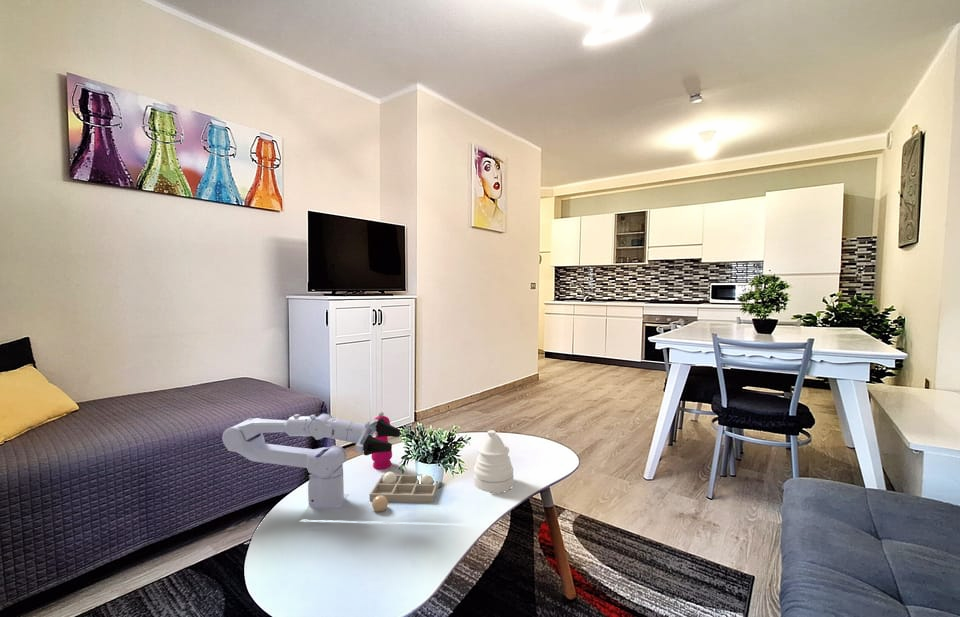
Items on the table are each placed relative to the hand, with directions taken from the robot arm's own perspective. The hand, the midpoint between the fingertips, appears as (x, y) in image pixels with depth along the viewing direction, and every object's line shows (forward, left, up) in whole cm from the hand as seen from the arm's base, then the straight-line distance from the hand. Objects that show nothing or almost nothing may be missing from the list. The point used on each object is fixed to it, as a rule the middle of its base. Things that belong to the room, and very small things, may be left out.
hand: (395, 440), depth 121 cm
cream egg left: (-5, +11, -19) cm, 22 cm away
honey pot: (+28, +15, -20) cm, 37 cm away
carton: (+1, +8, -19) cm, 21 cm away
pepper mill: (-12, +26, -20) cm, 34 cm away
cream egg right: (+7, +11, -19) cm, 23 cm away
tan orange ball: (-4, -3, -19) cm, 20 cm away
